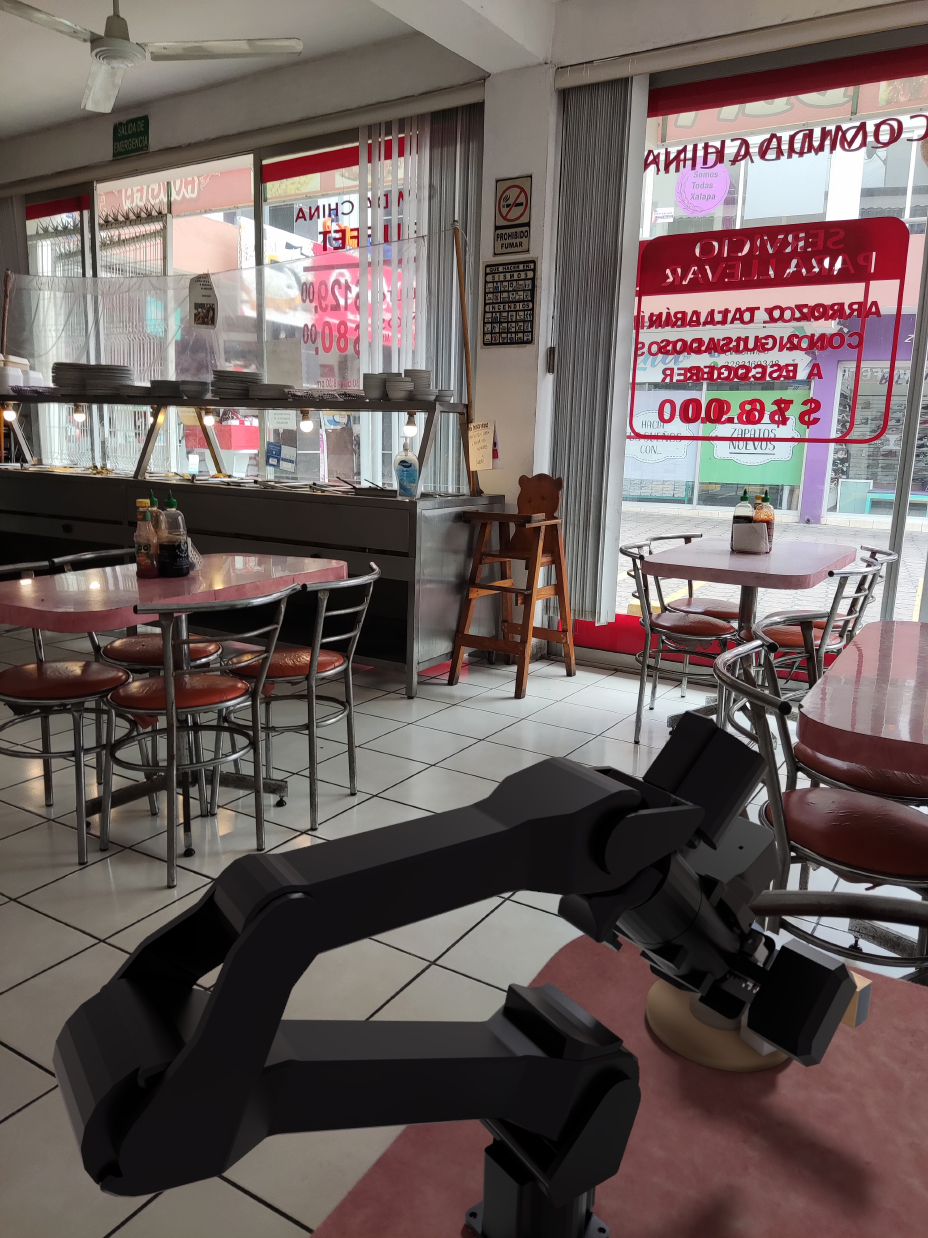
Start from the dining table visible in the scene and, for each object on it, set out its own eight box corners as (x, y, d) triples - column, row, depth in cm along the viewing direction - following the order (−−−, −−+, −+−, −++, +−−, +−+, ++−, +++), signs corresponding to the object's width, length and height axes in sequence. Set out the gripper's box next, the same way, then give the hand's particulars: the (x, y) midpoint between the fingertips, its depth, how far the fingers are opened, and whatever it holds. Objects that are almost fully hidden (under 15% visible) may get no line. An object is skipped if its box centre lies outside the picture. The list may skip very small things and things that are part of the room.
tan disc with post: (738, 1094, 66) (745, 1020, 65) (616, 1012, 75) (621, 946, 74) (824, 1031, 73) (832, 963, 72) (704, 964, 82) (709, 902, 81)
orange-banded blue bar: (673, 948, 73) (675, 913, 73) (717, 925, 77) (720, 892, 76) (838, 1041, 62) (843, 1002, 62) (881, 1009, 66) (886, 972, 65)
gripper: (859, 845, 50) (925, 956, 59) (613, 751, 65) (696, 852, 74) (766, 1021, 47) (851, 1111, 56) (528, 882, 61) (626, 971, 70)
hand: (747, 994), depth 64 cm, fingers closed
